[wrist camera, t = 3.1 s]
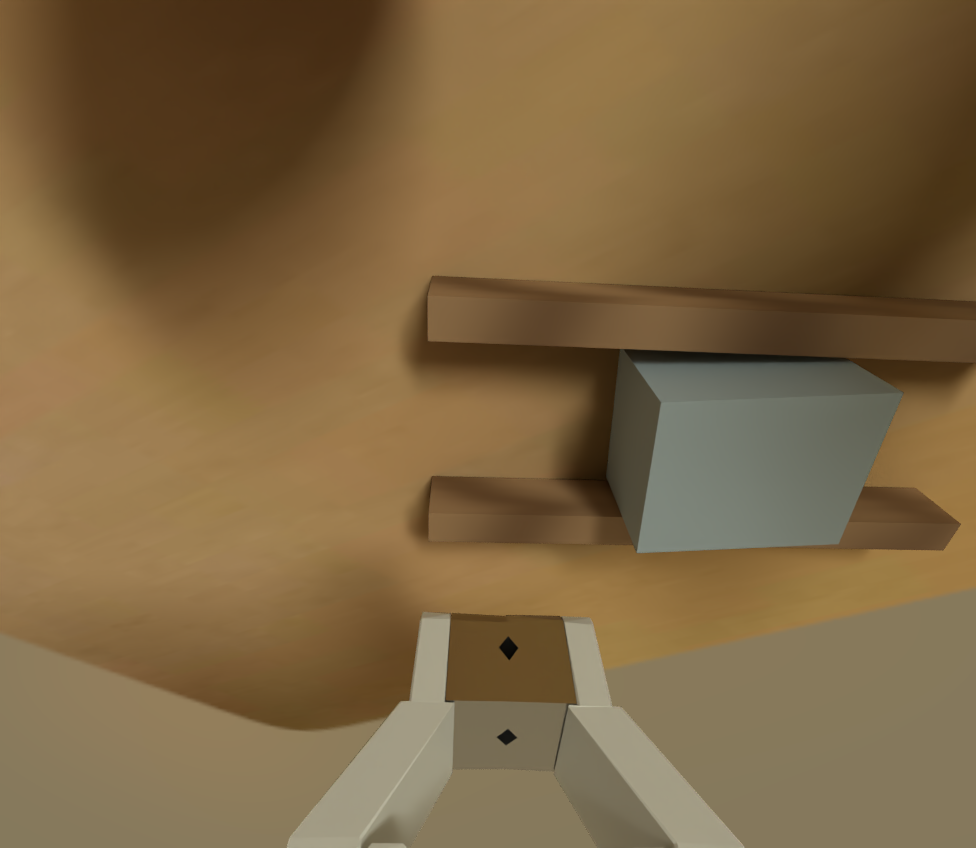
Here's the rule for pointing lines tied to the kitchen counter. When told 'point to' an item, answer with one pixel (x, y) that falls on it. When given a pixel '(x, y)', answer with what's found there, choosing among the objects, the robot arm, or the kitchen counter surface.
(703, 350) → the walnut chute
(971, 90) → the kitchen counter surface
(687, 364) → the slate block
